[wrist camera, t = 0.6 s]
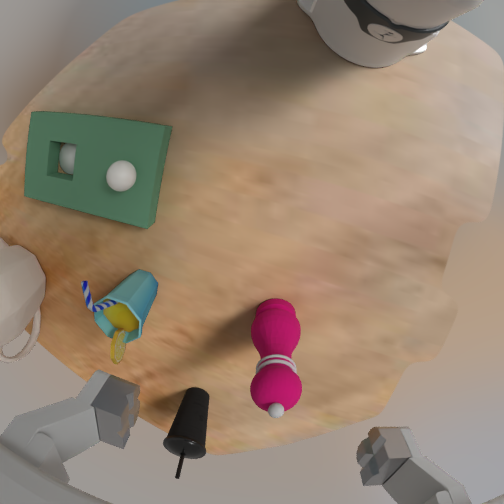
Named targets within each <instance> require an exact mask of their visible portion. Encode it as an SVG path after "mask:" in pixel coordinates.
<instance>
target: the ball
mask: <svg viewBox="0 0 504 504" xmlns="http://www.w3.org/2000/svg"><path fill="white" fill-rule="evenodd" d="M106 179H107V183H108V185H109V186H110V187H111V188H112V189H113V190H115V191H119V192H121V191H126V190H128V189H130V188H131V187H132V186H133V185H134V183H135V181H136V170H135V168H134V166H133V165H132V164H131V163H130V162H128V161H124V160H120V161H117V162H114V163H113V164H112V165H111V166H110V167H109V169H108V171H107V174H106Z"/></svg>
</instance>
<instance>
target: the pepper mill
mask: <svg viewBox="0 0 504 504" xmlns="http://www.w3.org/2000/svg"><path fill="white" fill-rule="evenodd" d="M300 330H301V329H300V324H299V321H298V320H297V318H296V314H295V310H294V308H293V306H292V305H291V304H290V303H289V302H287V301H285V300H282V299H270V300H267V301H265V302H263V303H262V304H260V306H259V307H258V309H257V311H256V317H255V320H254V321H253V323H252V326H251V337H252V340H253V343H254V346H255V347H256V349H257V351H258V352H259V354H260V357H261V360H260V361H259V362H258V364H257V366H256V375H255V376H254V378H253V380H252V382H251V386H250V392H251V396H252V399H253V401H254V402H255V404H256V405H257V406H258V407H259V408H261V409H263V410H265V411H268V413H269V415H270V416H271V417H273V418H279V417H281V416H282V415H283V413H284V411H286V410H289V409H290V408H292V407H293V406H294V405H295V404H296V403H297V402H298V400H299V399H300V396H301V393H302V384H301V381H300V379H299V376H298V375H297V372H296V365H295V363H294V361H293V360H292V359H291V354H292V352H293V351H294V349H295V348H296V346H297V344H298V341H299V339H300Z"/></svg>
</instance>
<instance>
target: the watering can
mask: <svg viewBox="0 0 504 504" xmlns="http://www.w3.org/2000/svg"><path fill="white" fill-rule="evenodd" d="M45 284H46V276H45V274H44V272H43V270H42V268H41V266H40V264H39V262H38V260H37V258H36V256H35V255H34V254H32V253H31V252H29V251H28V250H26V249H25V248H23V247H22V246H20V245H13V246H9V245H8V244H7V243H6V242H5V241H4V240H3V239H2V238H1V237H0V361H2V362H5V363H12V362H14V361H17V360H20V359H22V358H23V357H25V356H26V355H27V354H29V353H30V351H31V350H32V348H33V347H34V346H35V344H36V341H37V338H38V336H39V333H40V323H41V312H40V305H41V303H42V301H43V299H44V296H45ZM33 316H34V320H33V329H32V333H31V335H30V337H29V340H28V342H27V344H26V346H25V347H24V348H23V349H22V351H21V352H20V353H18V354H17V355H15V356H13V357H6V356H4V355H3V352H2V347H3V346H4V345H6V344H8V343H9V342H11V341H12V340H14V339H15V338H16V337H17V336H19V335H20V334H21V333H22V332H23V331H24V329H25V328H26V326H27V325H28V323H29V322H30V321H31V319H32V318H33Z"/></svg>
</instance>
